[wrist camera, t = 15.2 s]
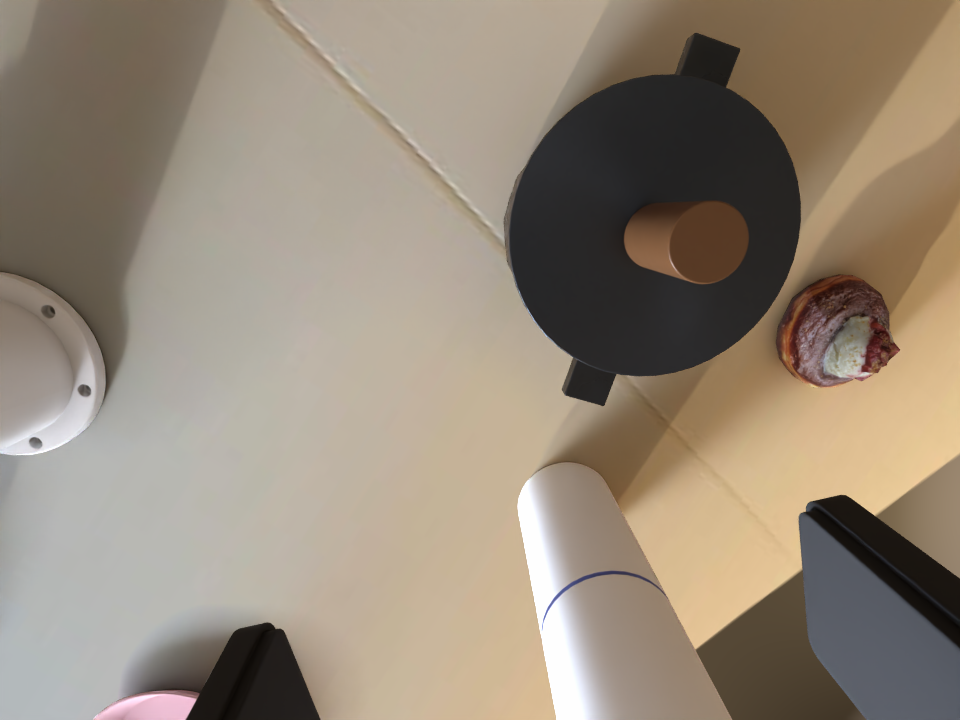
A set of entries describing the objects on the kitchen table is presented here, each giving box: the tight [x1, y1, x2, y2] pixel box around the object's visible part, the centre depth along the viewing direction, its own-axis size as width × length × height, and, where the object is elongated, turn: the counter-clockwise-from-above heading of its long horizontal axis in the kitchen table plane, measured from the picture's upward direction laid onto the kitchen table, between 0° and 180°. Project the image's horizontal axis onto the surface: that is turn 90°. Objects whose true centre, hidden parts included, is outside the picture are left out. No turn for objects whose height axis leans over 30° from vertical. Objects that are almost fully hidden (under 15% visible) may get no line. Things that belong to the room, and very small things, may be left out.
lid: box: [508, 74, 801, 376], centre depth 24 cm, size 15×15×7 cm
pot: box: [504, 33, 740, 406], centre depth 31 cm, size 14×19×8 cm
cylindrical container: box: [518, 462, 732, 720], centre depth 29 cm, size 7×7×25 cm
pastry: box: [776, 275, 900, 388], centre depth 35 cm, size 8×8×5 cm
